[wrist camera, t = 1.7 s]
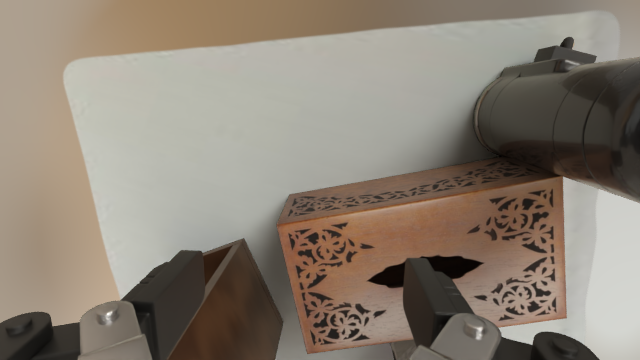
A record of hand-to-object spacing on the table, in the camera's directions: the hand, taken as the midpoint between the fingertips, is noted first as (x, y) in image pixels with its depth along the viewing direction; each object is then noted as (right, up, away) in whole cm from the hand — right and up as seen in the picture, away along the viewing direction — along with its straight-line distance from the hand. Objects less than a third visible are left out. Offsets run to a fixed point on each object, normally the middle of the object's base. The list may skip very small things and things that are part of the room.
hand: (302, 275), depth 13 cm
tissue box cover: (+11, -3, +29) cm, 31 cm away
